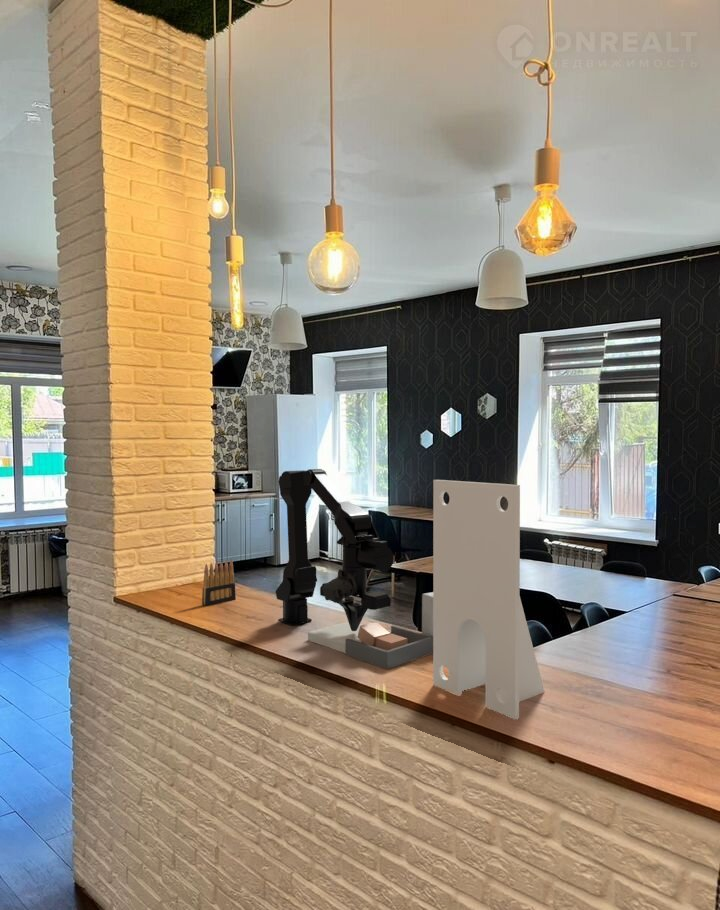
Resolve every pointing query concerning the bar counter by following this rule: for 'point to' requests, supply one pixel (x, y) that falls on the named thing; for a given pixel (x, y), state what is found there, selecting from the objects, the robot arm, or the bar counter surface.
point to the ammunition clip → (218, 584)
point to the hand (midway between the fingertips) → (354, 630)
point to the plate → (334, 636)
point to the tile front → (390, 641)
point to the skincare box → (427, 613)
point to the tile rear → (371, 633)
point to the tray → (412, 650)
